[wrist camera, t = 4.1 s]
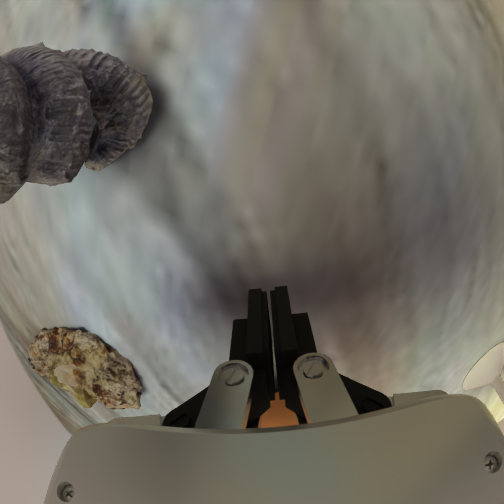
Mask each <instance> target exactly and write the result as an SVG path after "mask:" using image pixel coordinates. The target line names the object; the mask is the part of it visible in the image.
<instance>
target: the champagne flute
mask: <svg viewBox="0 0 504 504" xmlns="http://www.w3.org/2000/svg"><path fill="white" fill-rule="evenodd" d="M503 366H504V342H502V343H500V344H498V345H496V346H495V347H493V348H492V349H491V350H489V351H488V352H487V353H486V354H485V355H484V356H483V357H482V358H481V359H480V360H479V361H478V362H477V363H476V364H475V365H474V366H473V368H472V369H471V370H470V372H469V373H468V374H467V376H466V378H465V380H464V382H463V389H465V390H470V389H474V388H478V387H482V386H486V385H489V384H492V385H493V387H494V389H495V390H496V392H497V394H498V395H499V397H500V399H501V400H502V402H503V404H504V381H503V380H502V378H501V377H500V374H501V371H502V369H503Z"/></svg>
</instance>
